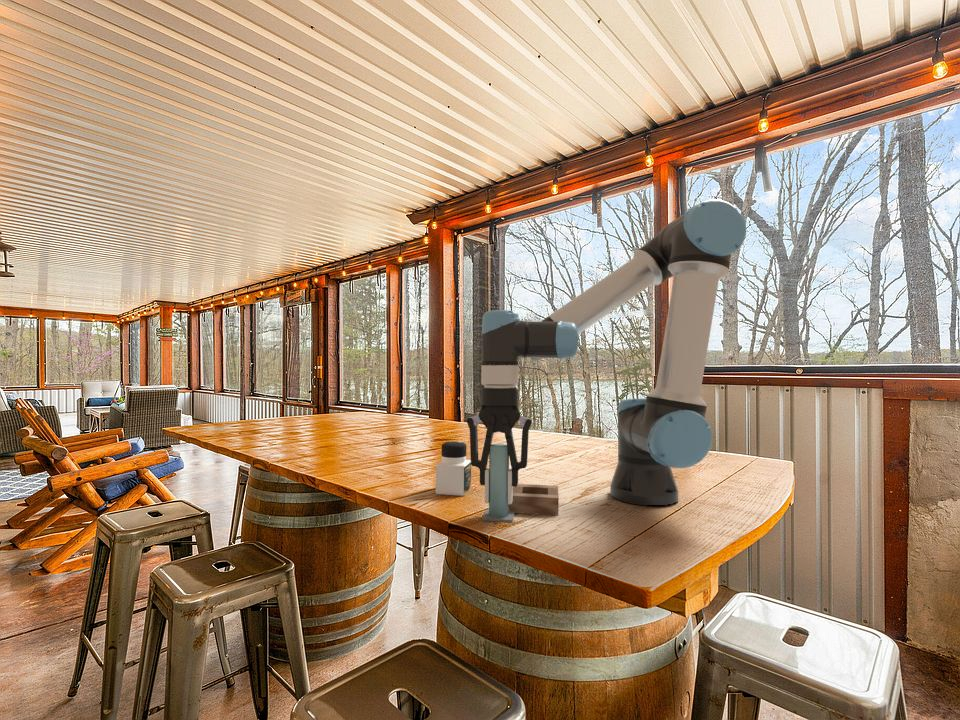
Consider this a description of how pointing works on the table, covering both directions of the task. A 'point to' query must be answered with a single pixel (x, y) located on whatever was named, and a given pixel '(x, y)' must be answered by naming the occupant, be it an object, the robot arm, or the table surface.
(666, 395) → the robot arm
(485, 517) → the coaster
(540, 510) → the socket block
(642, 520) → the table surface
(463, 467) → the medicine bottle
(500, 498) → the peg
